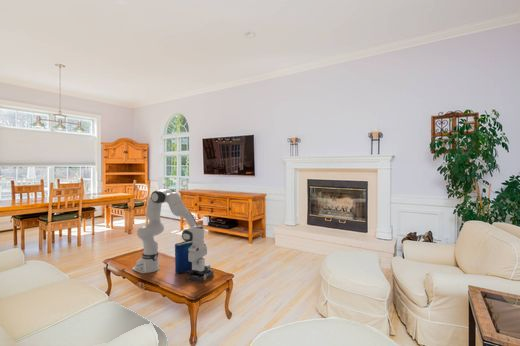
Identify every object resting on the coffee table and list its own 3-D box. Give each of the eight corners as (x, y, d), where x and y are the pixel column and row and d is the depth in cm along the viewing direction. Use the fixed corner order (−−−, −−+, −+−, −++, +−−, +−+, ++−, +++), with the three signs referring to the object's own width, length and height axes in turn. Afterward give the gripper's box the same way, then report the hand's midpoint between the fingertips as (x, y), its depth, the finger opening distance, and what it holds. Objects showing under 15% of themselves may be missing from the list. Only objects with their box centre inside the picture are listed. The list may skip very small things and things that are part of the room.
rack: (187, 280, 205) (188, 268, 205) (200, 272, 220) (200, 261, 220) (202, 283, 200) (202, 271, 200) (213, 275, 215) (213, 264, 215)
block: (191, 269, 206) (192, 258, 206) (194, 267, 209) (194, 256, 209) (201, 271, 202) (201, 259, 202) (204, 269, 206) (204, 258, 206)
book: (176, 275, 214) (176, 244, 213) (173, 272, 220) (174, 242, 219) (201, 269, 227) (201, 240, 226) (198, 266, 233) (198, 238, 232)
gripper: (202, 242, 216) (202, 259, 217) (186, 249, 197) (186, 267, 198) (209, 243, 214) (208, 260, 214) (193, 250, 195) (193, 269, 195)
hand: (198, 263), depth 206 cm, fingers closed on block, 4 cm apart
